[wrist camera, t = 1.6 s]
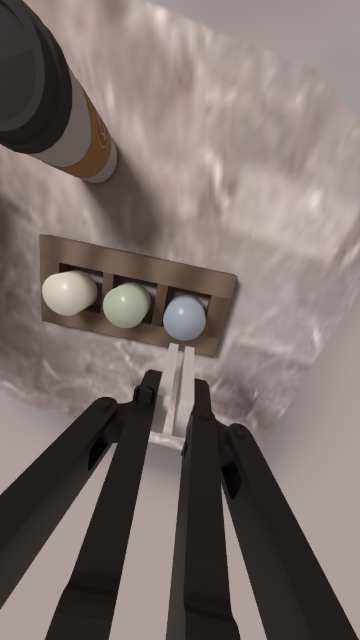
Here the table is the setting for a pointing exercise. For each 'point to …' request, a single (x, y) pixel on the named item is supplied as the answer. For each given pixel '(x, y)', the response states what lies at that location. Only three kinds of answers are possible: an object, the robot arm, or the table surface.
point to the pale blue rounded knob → (184, 317)
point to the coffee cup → (47, 101)
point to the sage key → (127, 304)
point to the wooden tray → (164, 272)
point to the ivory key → (69, 292)
